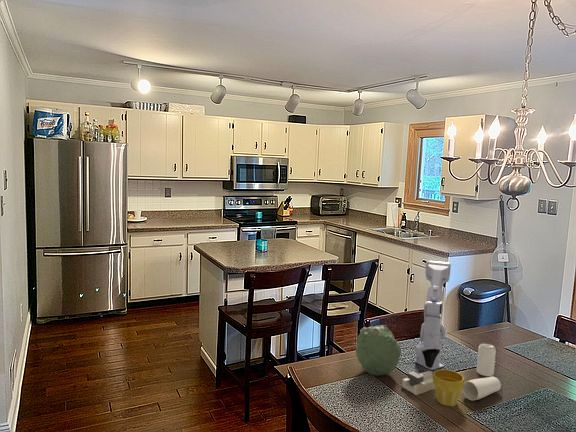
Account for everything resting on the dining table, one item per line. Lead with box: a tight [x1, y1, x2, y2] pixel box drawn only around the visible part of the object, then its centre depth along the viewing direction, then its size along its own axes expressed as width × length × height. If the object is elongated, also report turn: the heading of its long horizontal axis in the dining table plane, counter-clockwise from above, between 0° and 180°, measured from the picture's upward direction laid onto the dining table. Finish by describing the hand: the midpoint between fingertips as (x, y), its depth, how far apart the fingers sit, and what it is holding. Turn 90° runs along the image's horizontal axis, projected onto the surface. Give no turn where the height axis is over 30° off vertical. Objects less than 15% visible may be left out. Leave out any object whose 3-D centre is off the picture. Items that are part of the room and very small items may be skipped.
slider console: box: [401, 370, 435, 396], centre depth 168 cm, size 7×15×3 cm, turn 123°
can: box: [476, 342, 496, 378], centre depth 180 cm, size 6×6×12 cm
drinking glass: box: [462, 375, 502, 402], centre depth 163 cm, size 7×7×15 cm
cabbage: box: [355, 324, 402, 377], centre depth 176 cm, size 16×19×20 cm
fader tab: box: [406, 370, 423, 387], centre depth 165 cm, size 5×3×4 cm, turn 32°
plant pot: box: [432, 368, 465, 407], centre depth 157 cm, size 10×10×10 cm
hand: (428, 366), depth 169 cm, fingers closed
